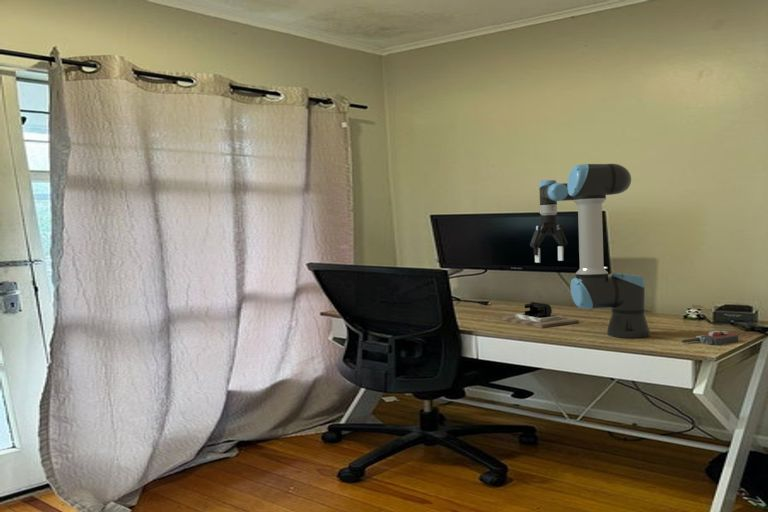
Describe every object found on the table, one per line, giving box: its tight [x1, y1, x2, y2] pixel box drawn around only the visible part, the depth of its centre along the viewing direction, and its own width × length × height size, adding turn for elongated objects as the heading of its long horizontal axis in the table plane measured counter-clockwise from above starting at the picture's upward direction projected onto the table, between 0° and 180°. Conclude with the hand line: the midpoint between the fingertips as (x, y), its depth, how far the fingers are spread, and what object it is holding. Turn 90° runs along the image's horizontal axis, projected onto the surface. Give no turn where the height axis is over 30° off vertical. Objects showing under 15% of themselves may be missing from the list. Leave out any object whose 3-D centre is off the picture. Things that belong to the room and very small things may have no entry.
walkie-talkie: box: [681, 330, 739, 346], centre depth 229 cm, size 9×4×20 cm
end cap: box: [524, 301, 553, 318], centre depth 284 cm, size 10×7×7 cm
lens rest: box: [499, 312, 580, 329], centre depth 284 cm, size 28×20×3 cm
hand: (549, 261), depth 296 cm, fingers open, 13 cm apart
